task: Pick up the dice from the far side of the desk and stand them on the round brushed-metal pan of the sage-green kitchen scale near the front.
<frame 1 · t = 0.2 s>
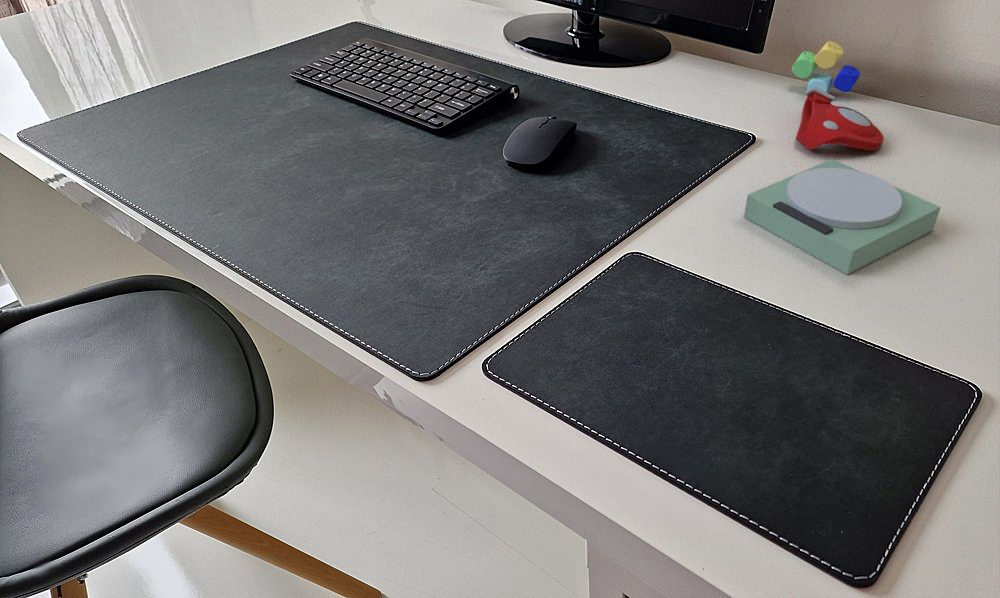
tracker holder: (833, 136, 90), on the table
scale: (836, 223, 75), on the table
dice: (820, 95, 99), on the table
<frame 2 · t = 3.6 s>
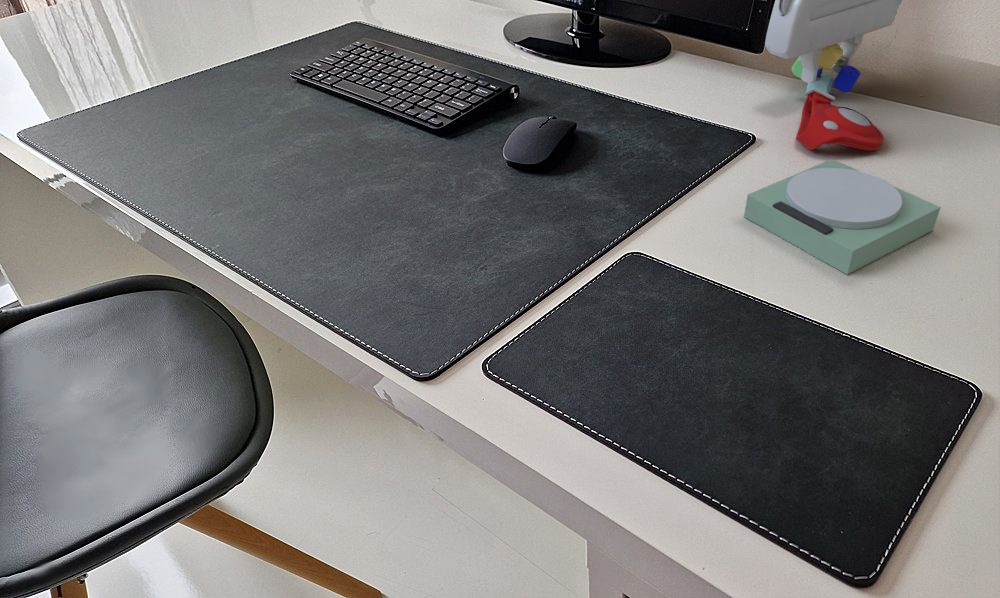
hand: (824, 75, 97), 2 cm above the table, tool pointing down, fingers closed on dice, 4 cm apart
dice: (820, 95, 99), on the table, touching gripper
everything else where it was.
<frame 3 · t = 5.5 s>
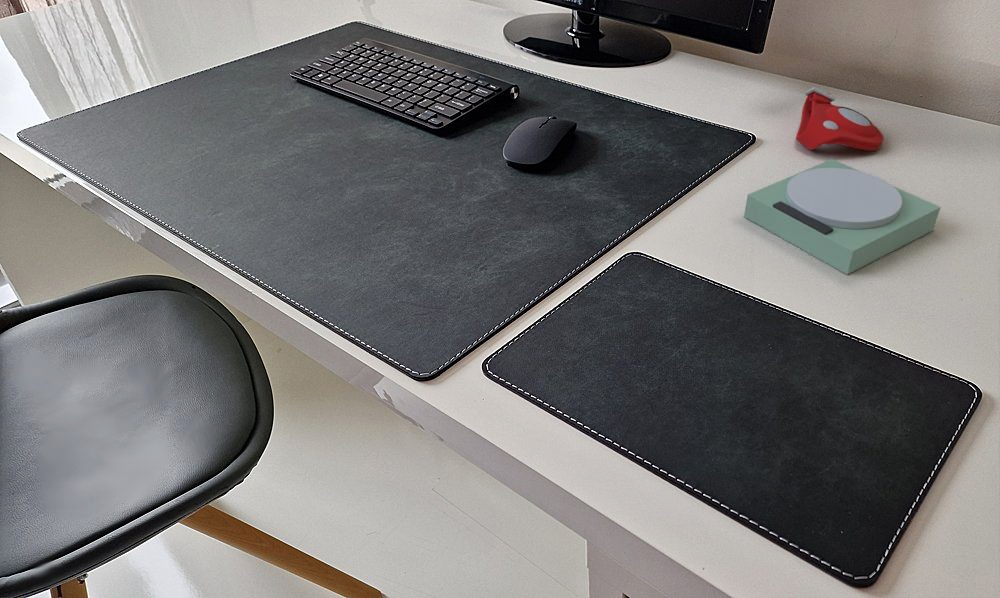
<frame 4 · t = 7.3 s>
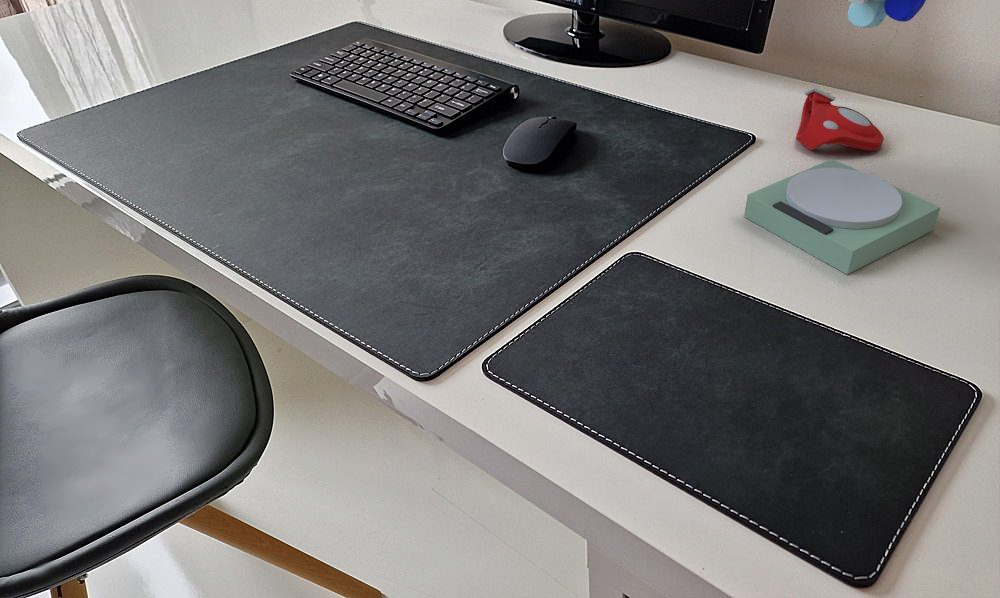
dice: (868, 26, 69), point 17 cm above the table, touching gripper
everything else where it was.
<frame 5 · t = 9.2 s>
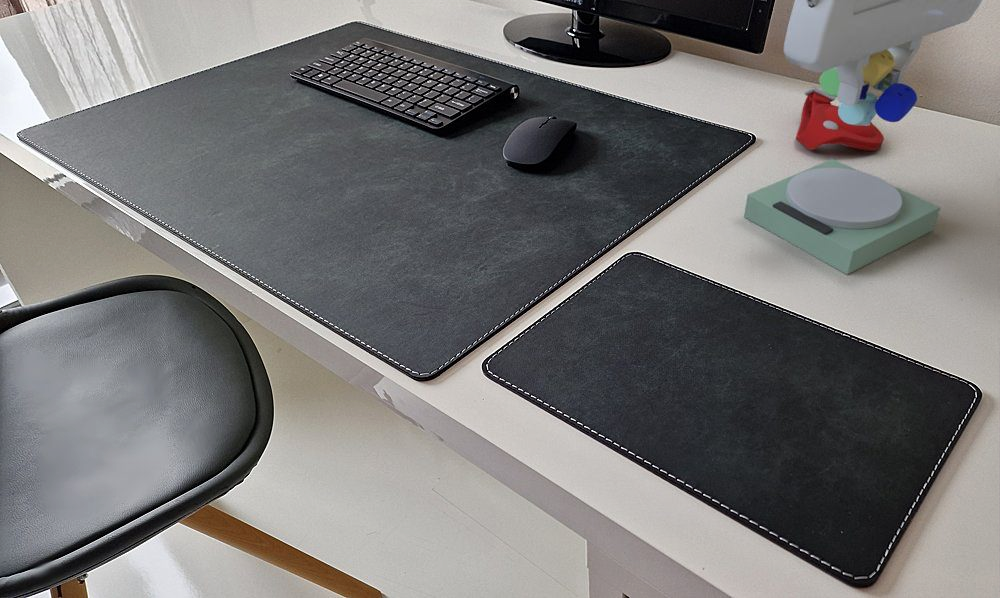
hand: (867, 95, 67), 13 cm above the table, tool pointing down, fingers closed on dice, 3 cm apart
dice: (858, 122, 69), point 10 cm above the table, touching gripper
everything else where it was.
when the fingers open (6 cm above the table, at t = 11.1 s): dice stays where it is, resting on scale.
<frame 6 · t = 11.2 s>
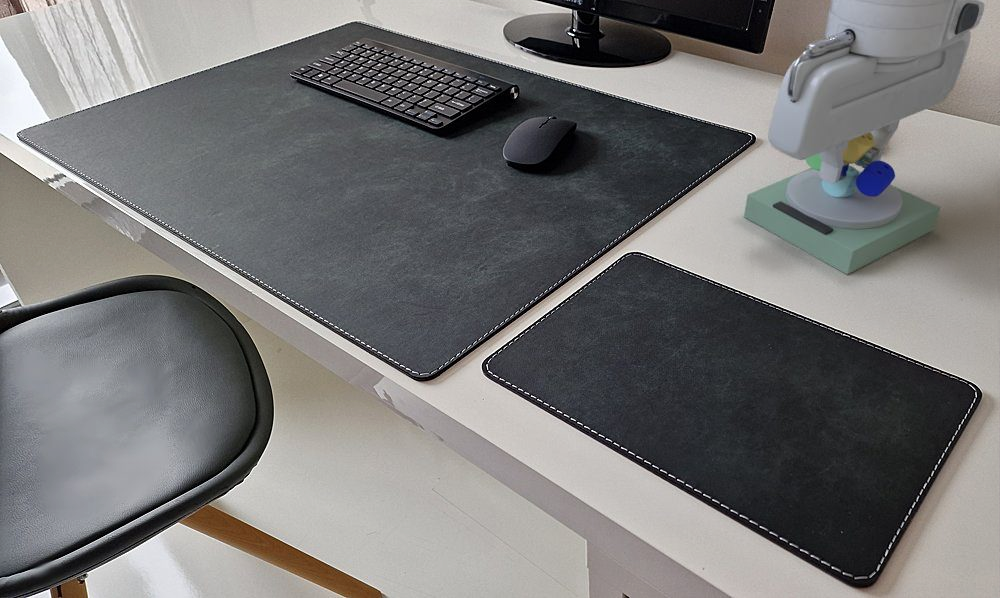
hand: (848, 171, 72), 5 cm above the table, tool pointing down, fingers open, 3 cm apart
dice: (841, 194, 73), point 3 cm above the table, touching scale
everything else where it was.
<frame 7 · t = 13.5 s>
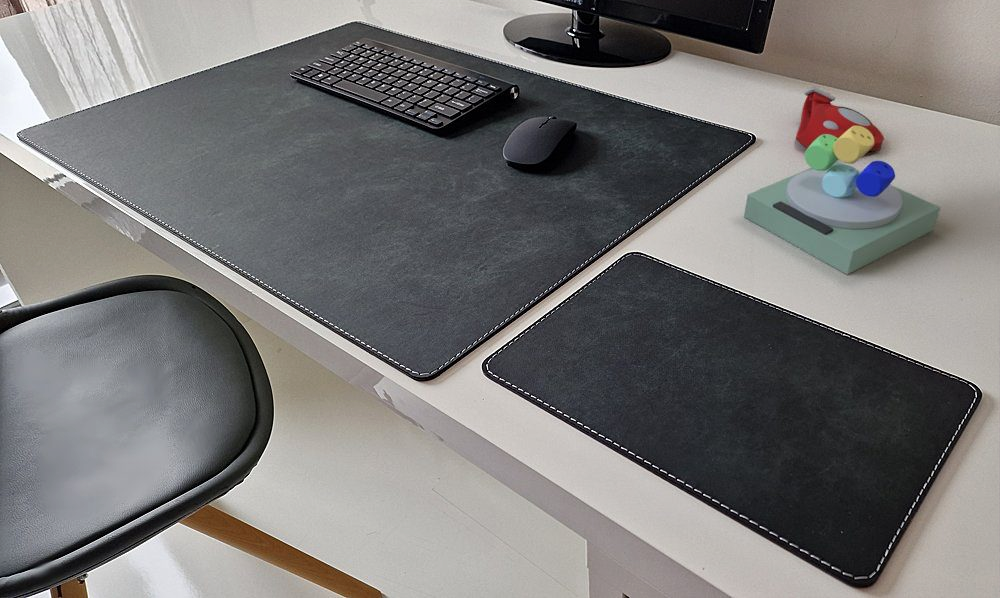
nothing on the table moved.
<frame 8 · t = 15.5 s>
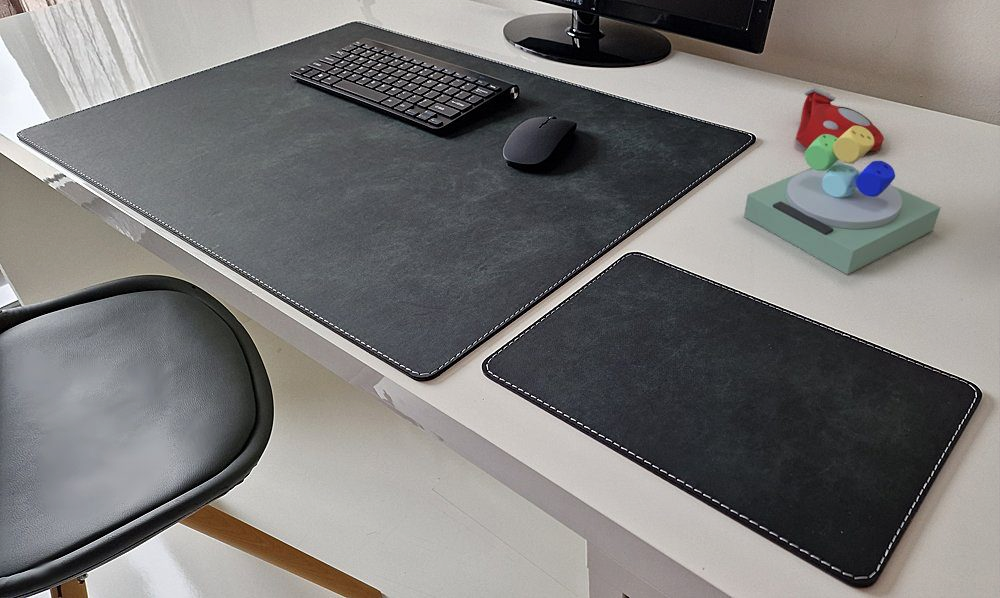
nothing on the table moved.
at the end: dice inside the target area on the scale (0.2 cm from its centre), point 3.1 cm above the scale's base; dice tilted 0°; the gripper is holding nothing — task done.
